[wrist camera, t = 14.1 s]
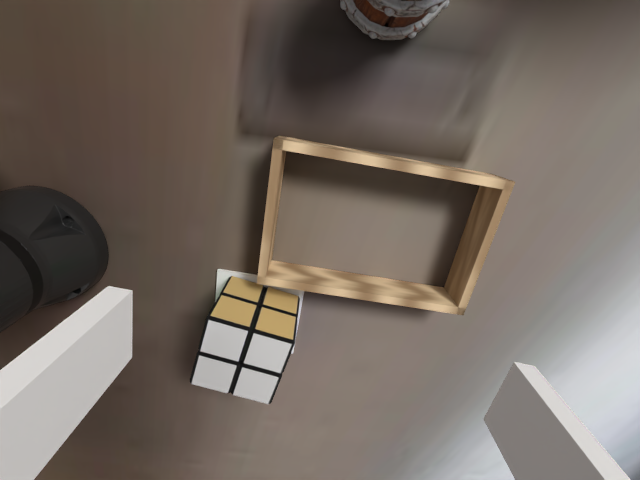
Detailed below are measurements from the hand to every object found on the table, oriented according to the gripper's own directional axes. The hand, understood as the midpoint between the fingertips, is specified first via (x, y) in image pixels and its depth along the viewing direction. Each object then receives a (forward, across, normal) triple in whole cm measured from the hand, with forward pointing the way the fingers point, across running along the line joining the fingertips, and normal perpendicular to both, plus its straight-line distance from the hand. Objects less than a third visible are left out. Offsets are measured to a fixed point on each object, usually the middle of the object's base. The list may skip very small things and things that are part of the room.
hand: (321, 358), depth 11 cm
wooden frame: (+31, +7, -3) cm, 32 cm away
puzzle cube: (+30, -6, -20) cm, 37 cm away
